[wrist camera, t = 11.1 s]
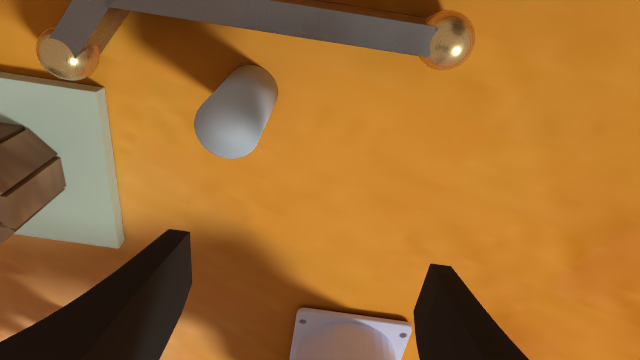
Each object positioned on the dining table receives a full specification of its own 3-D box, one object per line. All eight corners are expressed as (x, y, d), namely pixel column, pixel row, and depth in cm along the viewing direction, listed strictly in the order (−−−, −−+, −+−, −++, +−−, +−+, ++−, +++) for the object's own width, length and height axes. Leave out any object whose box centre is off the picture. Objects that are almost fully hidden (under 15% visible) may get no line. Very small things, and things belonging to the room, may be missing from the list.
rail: (436, 123, 20) (448, 146, 18) (67, 66, 20) (29, 82, 17) (472, 6, 18) (493, 15, 15) (45, -63, 17) (-4, -66, 15)
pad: (124, 240, 25) (118, 248, 25) (-36, 217, 25) (-47, 225, 24) (104, 87, 20) (96, 92, 20) (-97, 56, 20) (-112, 60, 19)
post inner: (275, 118, 21) (257, 163, 16) (225, 111, 21) (194, 153, 16) (279, 69, 19) (262, 102, 15) (227, 60, 19) (193, 92, 15)
